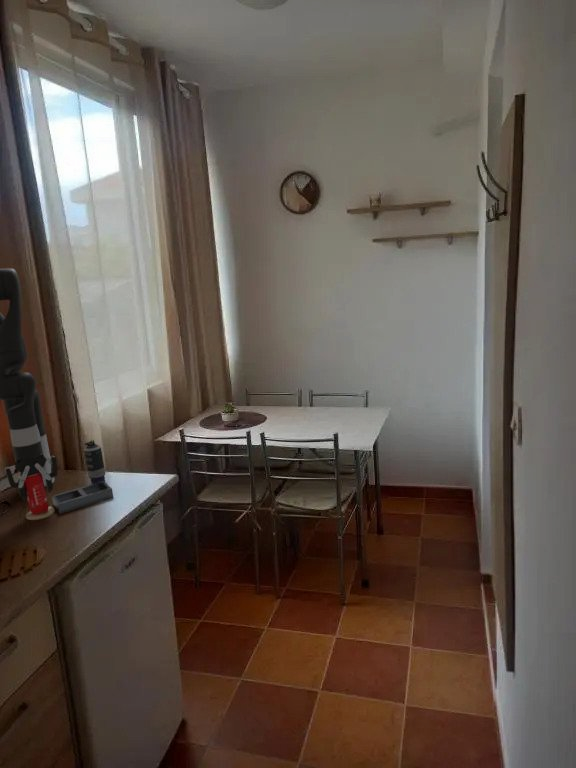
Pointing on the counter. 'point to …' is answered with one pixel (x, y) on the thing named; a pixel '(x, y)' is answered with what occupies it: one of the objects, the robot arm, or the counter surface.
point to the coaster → (40, 516)
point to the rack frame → (82, 497)
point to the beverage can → (36, 494)
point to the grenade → (94, 462)
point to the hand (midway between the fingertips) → (37, 494)
